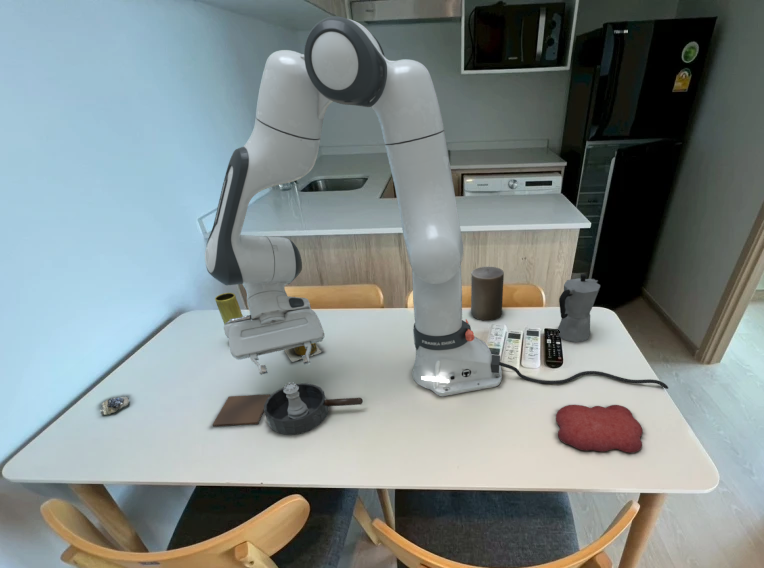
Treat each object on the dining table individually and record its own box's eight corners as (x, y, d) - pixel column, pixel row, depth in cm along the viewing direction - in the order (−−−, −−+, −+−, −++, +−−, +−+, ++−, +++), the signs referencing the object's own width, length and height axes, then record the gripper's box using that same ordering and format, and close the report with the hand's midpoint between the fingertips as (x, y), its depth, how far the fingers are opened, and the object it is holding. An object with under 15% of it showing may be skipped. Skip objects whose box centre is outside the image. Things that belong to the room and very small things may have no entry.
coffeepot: (573, 320, 124) (583, 263, 114) (601, 332, 118) (614, 272, 108) (540, 338, 117) (547, 278, 106) (567, 352, 111) (578, 289, 100)
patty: (630, 408, 91) (632, 401, 90) (652, 454, 80) (655, 447, 79) (550, 406, 93) (551, 399, 92) (561, 452, 82) (562, 444, 81)
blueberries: (107, 419, 95) (103, 413, 94) (90, 408, 98) (86, 402, 97) (137, 403, 100) (133, 397, 98) (120, 393, 103) (116, 387, 102)
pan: (332, 394, 99) (329, 381, 97) (322, 433, 89) (318, 419, 86) (277, 398, 99) (273, 384, 97) (261, 436, 88) (255, 423, 86)
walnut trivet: (270, 396, 100) (270, 394, 100) (258, 424, 92) (257, 422, 91) (229, 398, 100) (228, 396, 99) (213, 426, 92) (212, 424, 91)
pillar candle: (505, 319, 127) (508, 272, 118) (474, 322, 126) (475, 275, 117) (497, 305, 134) (499, 260, 126) (467, 308, 134) (468, 263, 125)
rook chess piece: (298, 405, 96) (290, 377, 92) (312, 411, 94) (305, 383, 90) (284, 416, 93) (274, 388, 88) (298, 422, 91) (289, 394, 87)
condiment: (322, 352, 115) (313, 314, 108) (292, 362, 111) (280, 323, 104) (313, 341, 120) (303, 304, 113) (284, 351, 116) (272, 313, 109)
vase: (225, 345, 120) (208, 300, 112) (238, 334, 125) (222, 291, 117) (244, 347, 119) (227, 302, 110) (256, 336, 124) (241, 292, 115)
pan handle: (363, 401, 93) (362, 395, 92) (363, 405, 92) (362, 400, 91) (324, 403, 93) (323, 398, 92) (323, 408, 92) (322, 402, 91)
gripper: (218, 315, 88) (233, 377, 86) (314, 297, 94) (330, 354, 92) (225, 325, 94) (239, 382, 92) (315, 307, 100) (330, 360, 98)
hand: (285, 368), depth 92 cm, fingers open, 8 cm apart
